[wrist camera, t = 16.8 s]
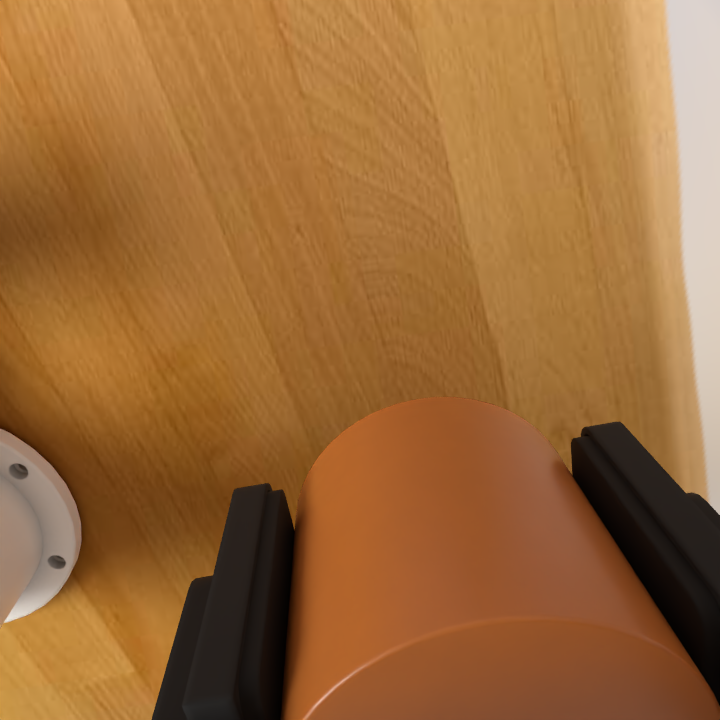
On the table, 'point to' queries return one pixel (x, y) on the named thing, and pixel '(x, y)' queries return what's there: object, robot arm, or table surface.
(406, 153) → the table surface
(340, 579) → the orange cylinder
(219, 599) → the robot arm
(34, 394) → the table surface
